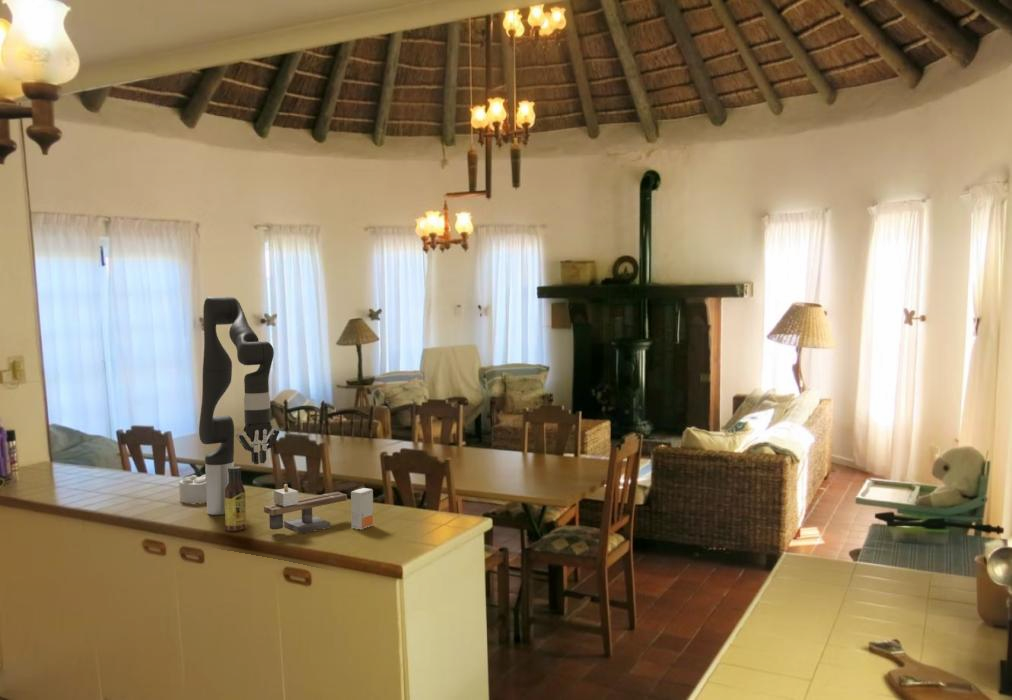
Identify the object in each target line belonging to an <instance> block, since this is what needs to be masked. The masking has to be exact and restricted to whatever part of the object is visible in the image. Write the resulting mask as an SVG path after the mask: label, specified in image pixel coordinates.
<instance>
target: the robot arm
mask: <svg viewBox="0 0 1012 700" xmlns="http://www.w3.org/2000/svg"><path fill="white" fill-rule="evenodd" d="M202 311H203V337H204V338H203V340H204V341H203V342H204V343H203V360H202V362H203V363H202V390H201V391H202V395H201V396H202V397H201V407H200V415H199V425H198V436H199V440H200V442H201V444H204V445H214V444H215V445H216V444H220V445H219V446H218V448H216V449H215V450H213V451H211V452H209V453H207V454H206V455H205V458H204V463H205V467H204V468H205V469H204V470H205V475H206V496H207V502H206V514H208V515H212V516H215V515H225V488H226V487H227V485H228V483H229V473H228V468H229V467H235V461H234V458H235V454H234V453H235V437H236V439H237V440H238V441H239V443H240V444H241V446H242V447H243V448H244V451H248V452H250V453H251V462H252V463H253V465H259V464H265V463H266V461H267V450H269V449H272V448H273V446H274V444H275V442H276V440H277V438H278V437H279V435H280V430H278V429H276V428H273V426H272V424H271V399H270V398H271V397H270V389H269V388H270V387H269V386H270V384H269V383H270V382H269V378H270V372H271V368H272V365H273V360H274V355H275V351H274V347H273V346H272V344H271V343H270V342H269V341H265V340H262V341H259V337H258V336H257V334H256V333H255V332H254V330H253V329H252V327H251V326H250V325H249V323H248V320H247V317H246V315H245V312H244V310H243V308H242V305H241V303H240V302H239V300H238V299H237V298H235V297H233V296H208V297H206V298H205V300H204V303H203V309H202ZM217 325H218V326H219V325H221V326H223V325H231V326H230V328H229V331H228V333H229V338H230V340H231V342H232V343H233V344H234V346H235V347H236V351H237V352H236V354H237V356H236V357H237V360H238V362H239V363H240V364H241V365H244V366H258V369H257V370H256V371H253V372H249V373H246V374H245V375H244V379H243V385H244V395H243V396H244V398H243V407H244V408H243V409H244V424H245V425H244V427H243V431H242V432H240V433H238V434H236V436H235V424H234V420H233V418H232V417H231V416H230V415H220V416H219V415H218V416H214V413H215V409H216V407H217V404H218V403H219V401H220V399H222V397H223V395H224V394H225V393H226V391H227V389H228V388H229V386H230V385H231V383H232V378H233V377H232V375H233V362H232V359H231V357H230V356H229V354H228V352H227V351H226V349H225V348H224V346H223V345H222V343H221V341H220V340H219V337H218V333H217ZM268 436H269V437H268ZM247 437H248V438H249V442H248V440H247ZM258 445H259V452H258Z"/></svg>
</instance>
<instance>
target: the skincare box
mask: <svg viewBox="0 0 1012 700" xmlns="http://www.w3.org/2000/svg"><path fill="white" fill-rule="evenodd" d="M373 492H374V490H373V489H372V488H366V487H362V488H359V489H355V490H353V491H351V492H350V512H351V513H350V517H351V518H350V525H351V529H353V528H355V529H354V530H358V529H360V530H359V531H362V530H364V528H365V529H368V528H370V526H371V527H373V526H374V493H373ZM367 527H368V528H367ZM361 529H362V530H361Z"/></svg>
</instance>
